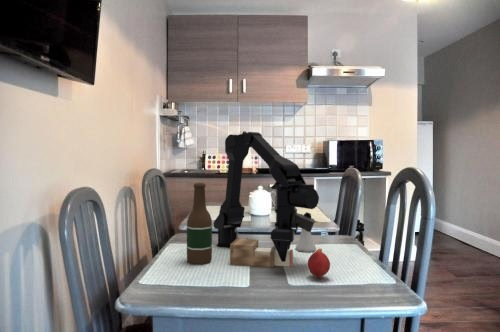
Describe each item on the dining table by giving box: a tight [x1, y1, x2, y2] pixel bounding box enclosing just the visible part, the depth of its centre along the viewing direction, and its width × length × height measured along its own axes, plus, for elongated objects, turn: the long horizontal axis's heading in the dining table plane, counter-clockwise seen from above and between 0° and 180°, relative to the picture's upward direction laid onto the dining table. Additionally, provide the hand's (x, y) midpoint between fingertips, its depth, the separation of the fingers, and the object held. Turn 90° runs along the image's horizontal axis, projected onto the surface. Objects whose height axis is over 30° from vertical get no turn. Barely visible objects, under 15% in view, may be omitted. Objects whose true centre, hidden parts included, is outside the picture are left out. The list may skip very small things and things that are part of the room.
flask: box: [295, 228, 317, 253], centre depth 124 cm, size 7×7×10 cm
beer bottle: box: [186, 182, 213, 266], centre depth 109 cm, size 8×8×24 cm
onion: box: [307, 247, 331, 279], centre depth 95 cm, size 6×6×8 cm
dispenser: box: [229, 237, 276, 269], centre depth 109 cm, size 13×8×6 cm, turn 78°
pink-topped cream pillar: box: [254, 247, 294, 268], centre depth 108 cm, size 14×4×4 cm, turn 78°
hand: (285, 257), depth 107 cm, fingers open, 9 cm apart
